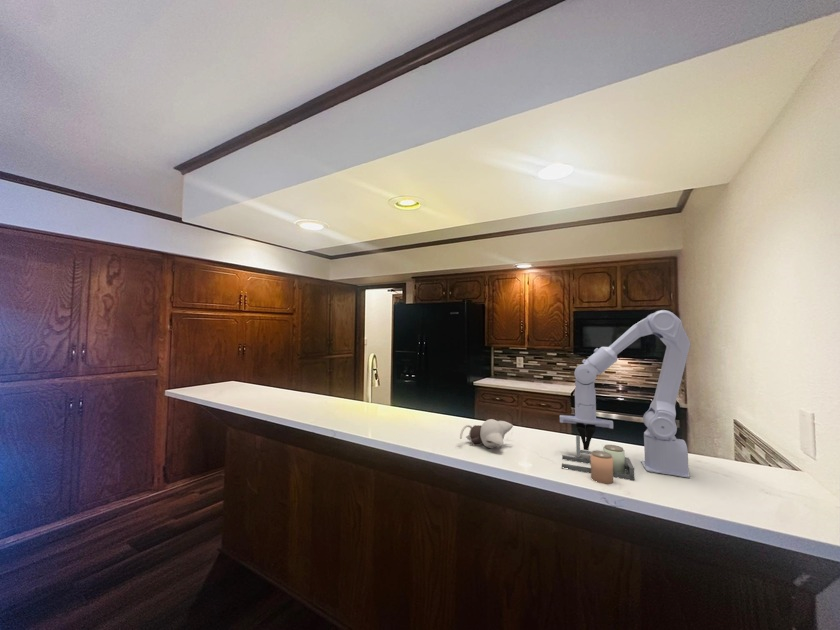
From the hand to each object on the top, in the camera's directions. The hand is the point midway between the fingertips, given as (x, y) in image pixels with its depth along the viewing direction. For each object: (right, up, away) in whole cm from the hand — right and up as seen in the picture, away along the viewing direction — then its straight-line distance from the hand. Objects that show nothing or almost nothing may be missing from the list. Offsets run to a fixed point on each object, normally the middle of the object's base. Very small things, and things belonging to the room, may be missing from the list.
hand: (585, 449), depth 99 cm
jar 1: (-4, -1, -16) cm, 16 cm away
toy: (-29, -3, +8) cm, 30 cm away
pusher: (-2, -2, -5) cm, 6 cm away
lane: (-2, -2, -9) cm, 9 cm away
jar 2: (+2, -2, -11) cm, 11 cm away
